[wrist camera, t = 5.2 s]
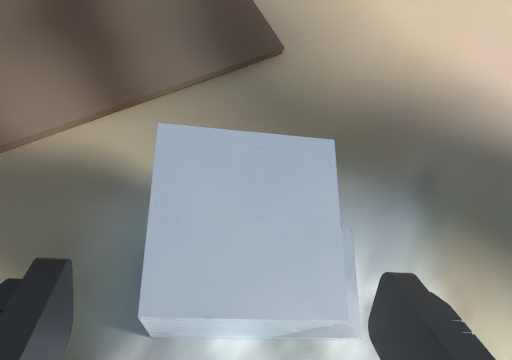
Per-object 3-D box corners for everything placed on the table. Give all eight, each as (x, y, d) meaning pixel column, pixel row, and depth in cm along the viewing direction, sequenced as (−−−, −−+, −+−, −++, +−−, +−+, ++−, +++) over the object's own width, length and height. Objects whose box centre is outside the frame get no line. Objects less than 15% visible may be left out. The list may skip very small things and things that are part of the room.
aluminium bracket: (151, 338, 17) (137, 316, 8) (161, 228, 18) (157, 122, 10) (346, 340, 18) (496, 323, 10) (339, 238, 20) (461, 152, 12)
